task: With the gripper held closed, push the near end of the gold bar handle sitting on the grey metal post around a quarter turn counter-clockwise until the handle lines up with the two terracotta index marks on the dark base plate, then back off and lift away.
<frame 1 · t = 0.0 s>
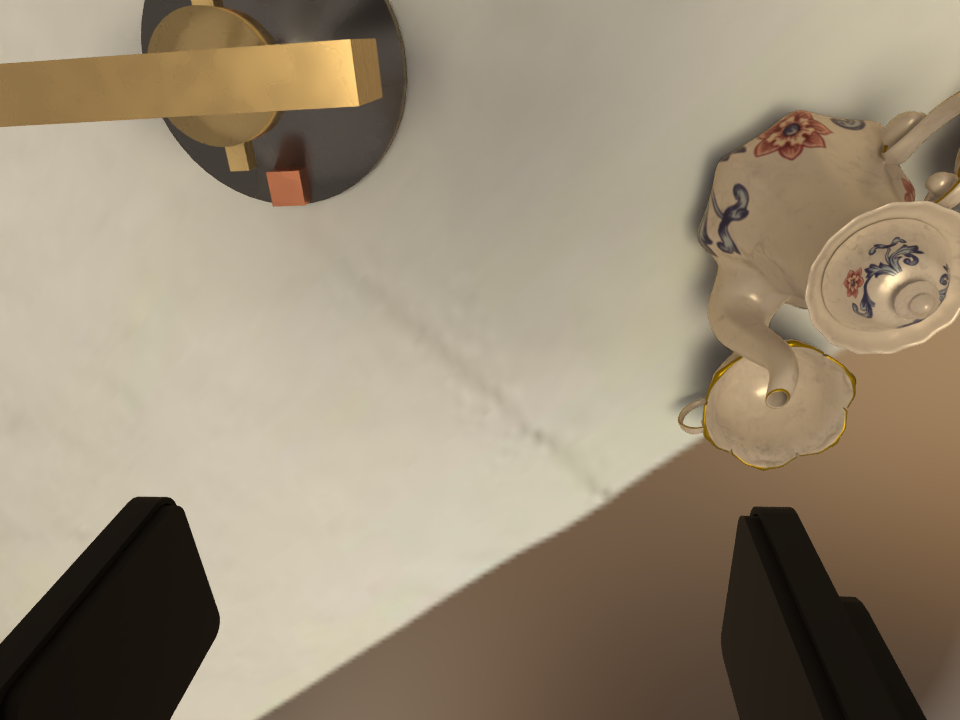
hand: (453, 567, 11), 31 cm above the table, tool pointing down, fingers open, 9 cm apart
gold bar handle: (199, 80, 29), point 9 cm above the table, hinge at 0.0°
post base: (278, 69, 37), on the table
chinaware: (819, 232, 39), on the table
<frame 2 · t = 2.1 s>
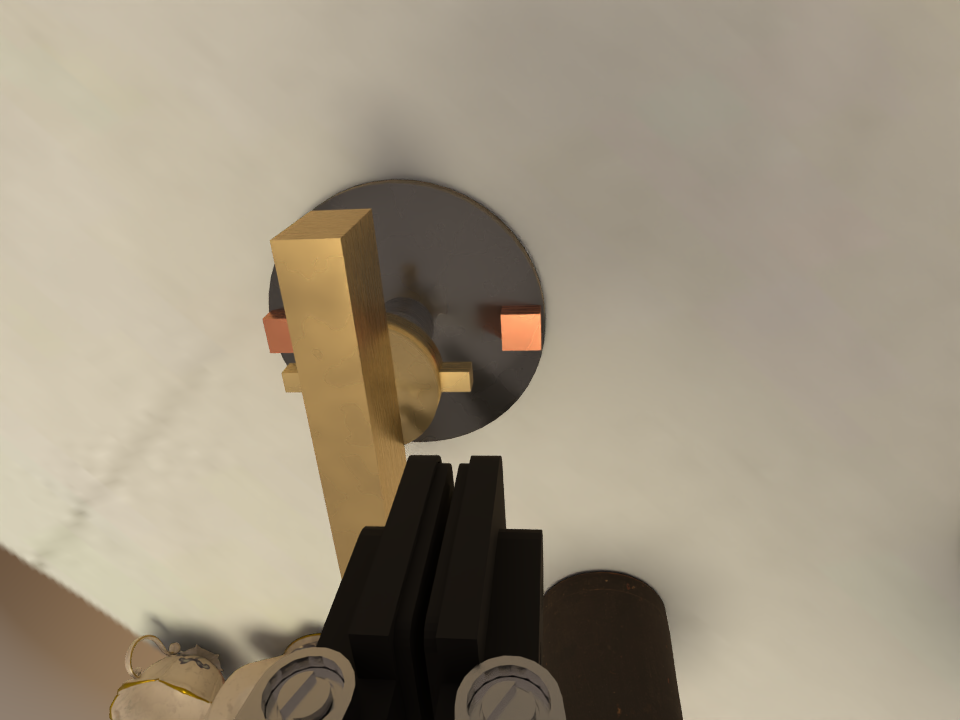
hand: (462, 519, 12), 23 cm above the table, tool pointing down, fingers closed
gold bar handle: (363, 403, 27), point 9 cm above the table, hinge at 0.0°
post base: (408, 317, 36), on the table
container: (602, 610, 44), on the table
chinaware: (318, 686, 51), on the table
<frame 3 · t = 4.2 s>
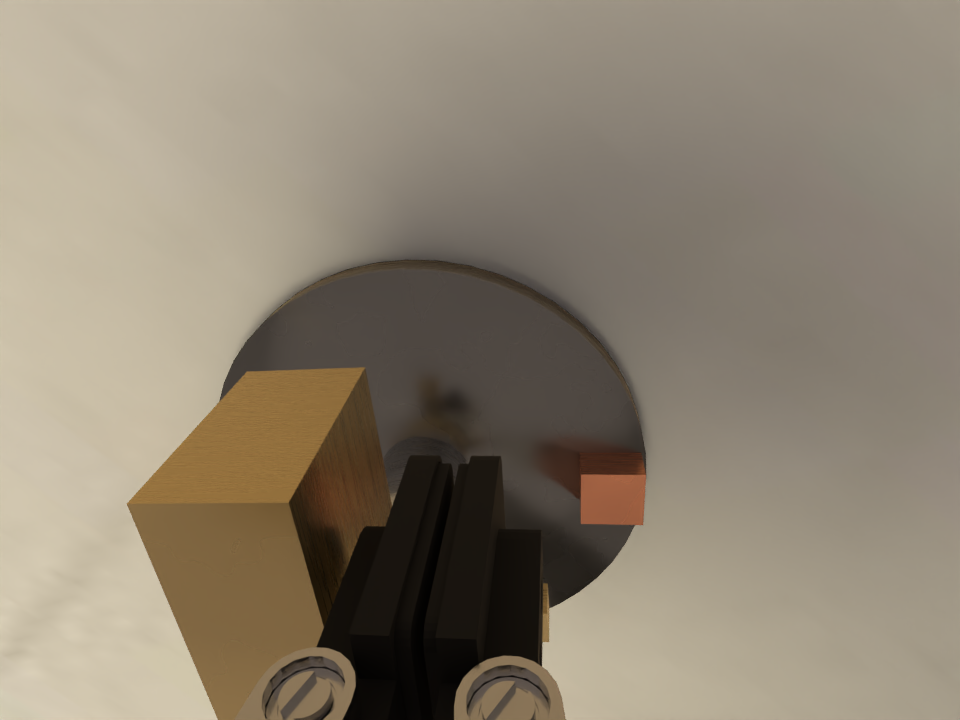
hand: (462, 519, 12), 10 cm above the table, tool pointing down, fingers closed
gold bar handle: (363, 691, 15), point 9 cm above the table, hinge at 1.6°, touching gripper
post base: (430, 458, 23), on the table
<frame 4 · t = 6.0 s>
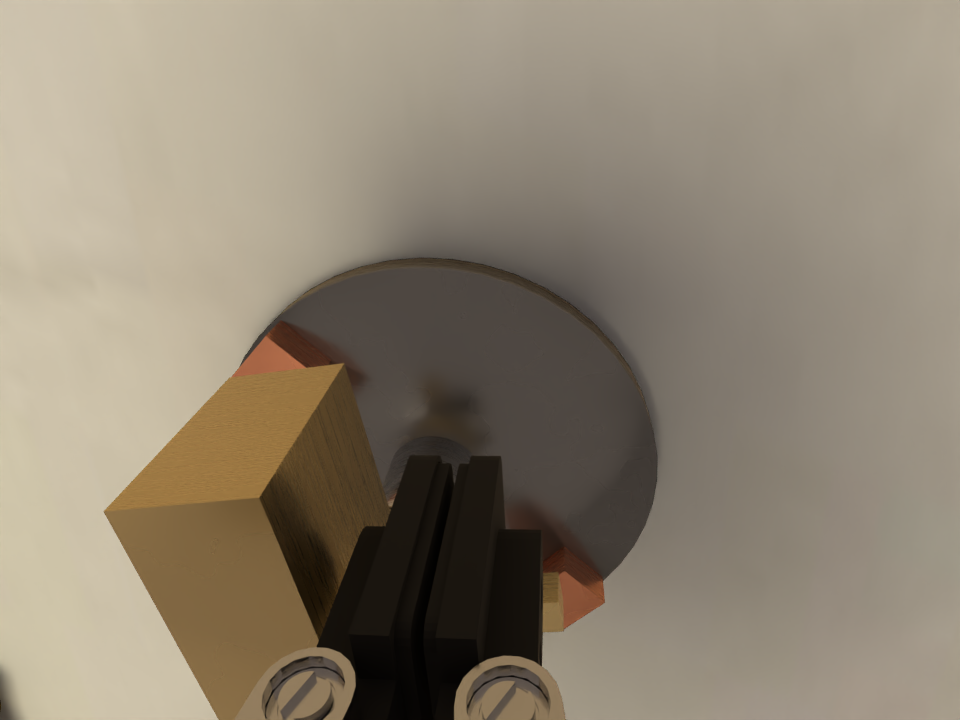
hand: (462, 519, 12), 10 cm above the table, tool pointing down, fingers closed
gold bar handle: (377, 691, 15), point 9 cm above the table, hinge at 52.8°, touching gripper
post base: (440, 458, 23), on the table
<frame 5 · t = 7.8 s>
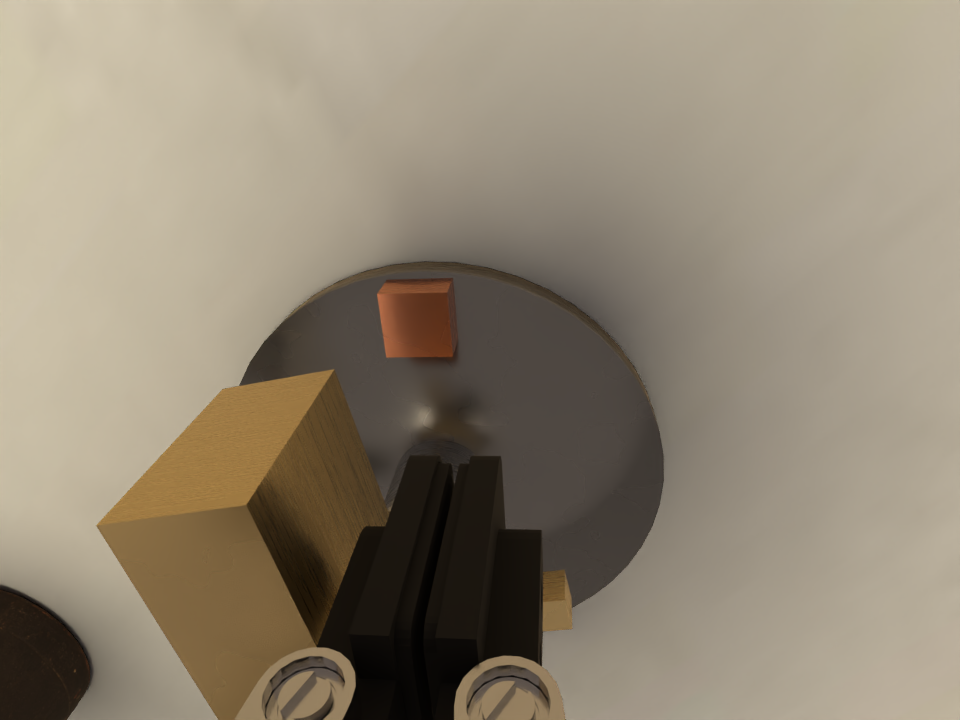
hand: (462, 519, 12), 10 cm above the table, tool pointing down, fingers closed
gold bar handle: (387, 696, 15), point 9 cm above the table, hinge at 100.0°, touching gripper
post base: (446, 461, 23), on the table
container: (15, 643, 31), on the table
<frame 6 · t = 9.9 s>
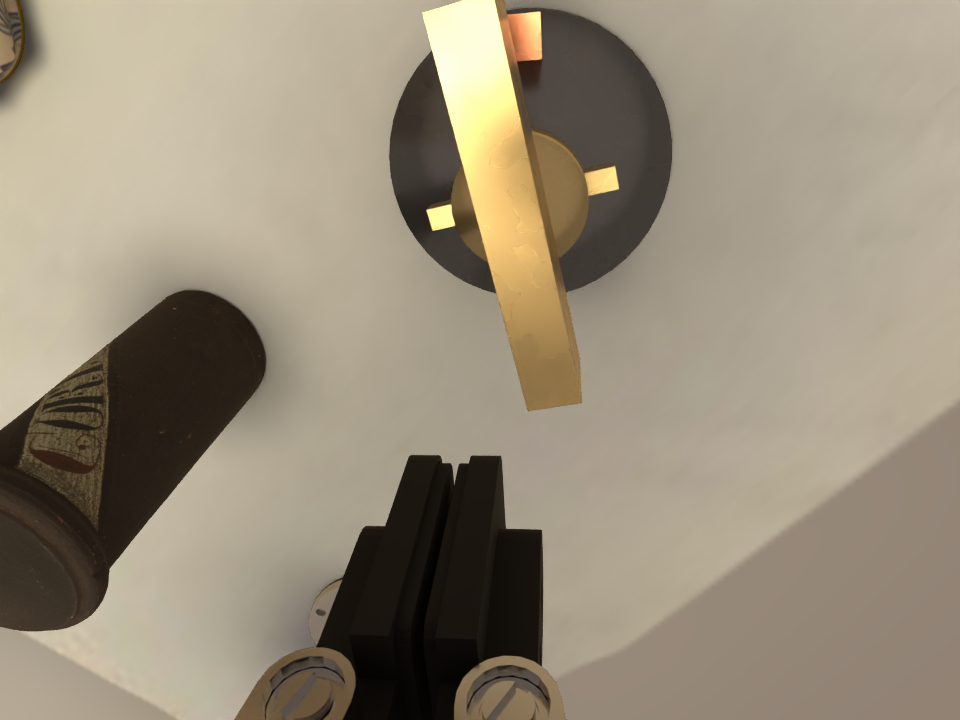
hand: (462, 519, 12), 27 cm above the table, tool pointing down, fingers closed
gold bar handle: (517, 211, 27), point 9 cm above the table, hinge at 100.0°
post base: (528, 163, 35), on the table
container: (211, 347, 44), on the table
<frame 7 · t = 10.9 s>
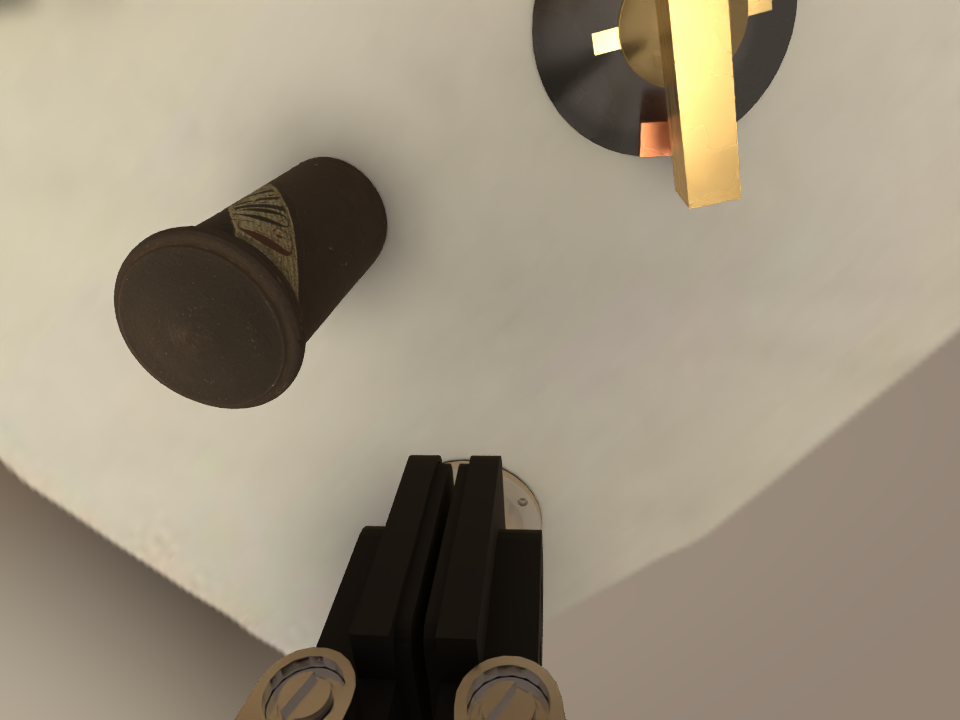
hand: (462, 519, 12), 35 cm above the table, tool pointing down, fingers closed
gold bar handle: (687, 21, 30), point 9 cm above the table, hinge at 100.0°
post base: (658, 23, 39), on the table
container: (334, 218, 46), on the table
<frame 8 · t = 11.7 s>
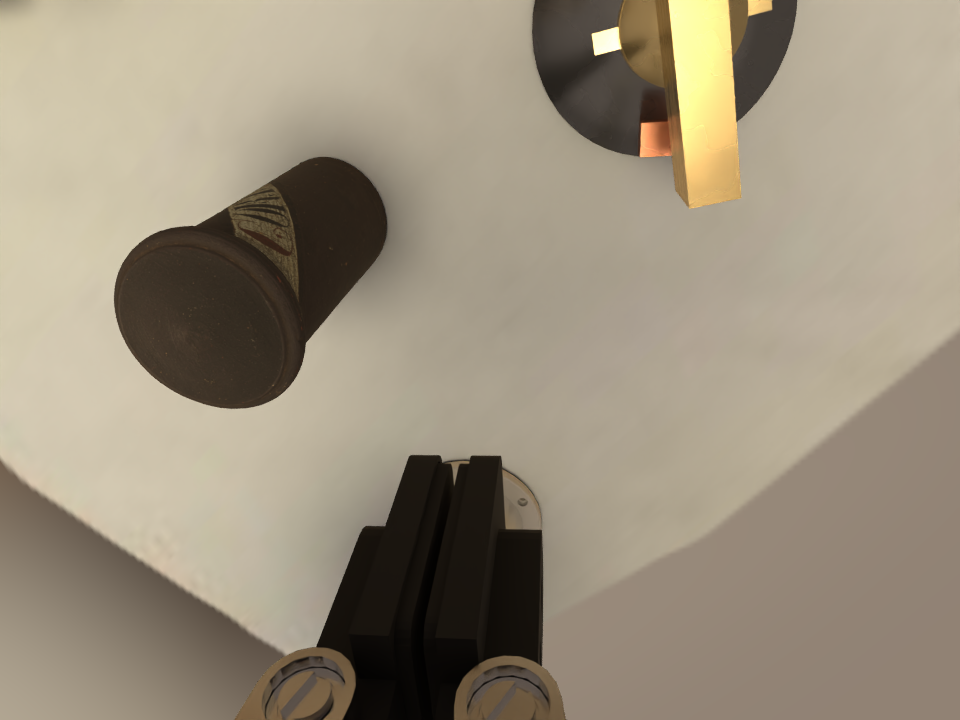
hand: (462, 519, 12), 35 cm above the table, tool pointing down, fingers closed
gold bar handle: (687, 21, 30), point 9 cm above the table, hinge at 100.0°
post base: (658, 23, 39), on the table
container: (334, 218, 46), on the table
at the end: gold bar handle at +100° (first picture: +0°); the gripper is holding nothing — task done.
